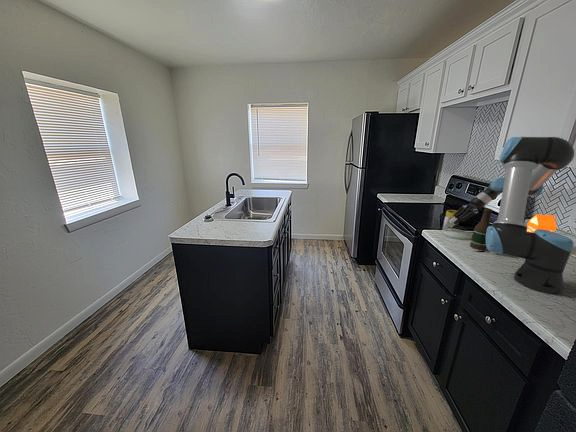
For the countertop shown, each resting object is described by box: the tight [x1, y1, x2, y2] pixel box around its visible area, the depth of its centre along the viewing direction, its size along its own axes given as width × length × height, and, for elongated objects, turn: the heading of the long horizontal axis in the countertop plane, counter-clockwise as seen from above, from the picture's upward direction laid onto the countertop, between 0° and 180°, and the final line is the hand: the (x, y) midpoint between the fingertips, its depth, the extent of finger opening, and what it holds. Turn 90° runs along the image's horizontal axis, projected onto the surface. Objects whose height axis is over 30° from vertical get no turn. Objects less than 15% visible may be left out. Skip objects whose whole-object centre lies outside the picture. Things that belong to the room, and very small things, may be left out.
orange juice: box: [526, 213, 557, 233], centre depth 140 cm, size 8×9×20 cm
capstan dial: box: [441, 215, 473, 241], centre depth 155 cm, size 16×16×11 cm
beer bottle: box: [469, 208, 493, 253], centre depth 135 cm, size 8×8×24 cm
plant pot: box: [445, 209, 459, 226], centre depth 178 cm, size 10×10×10 cm
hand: (448, 225), depth 160 cm, fingers closed
